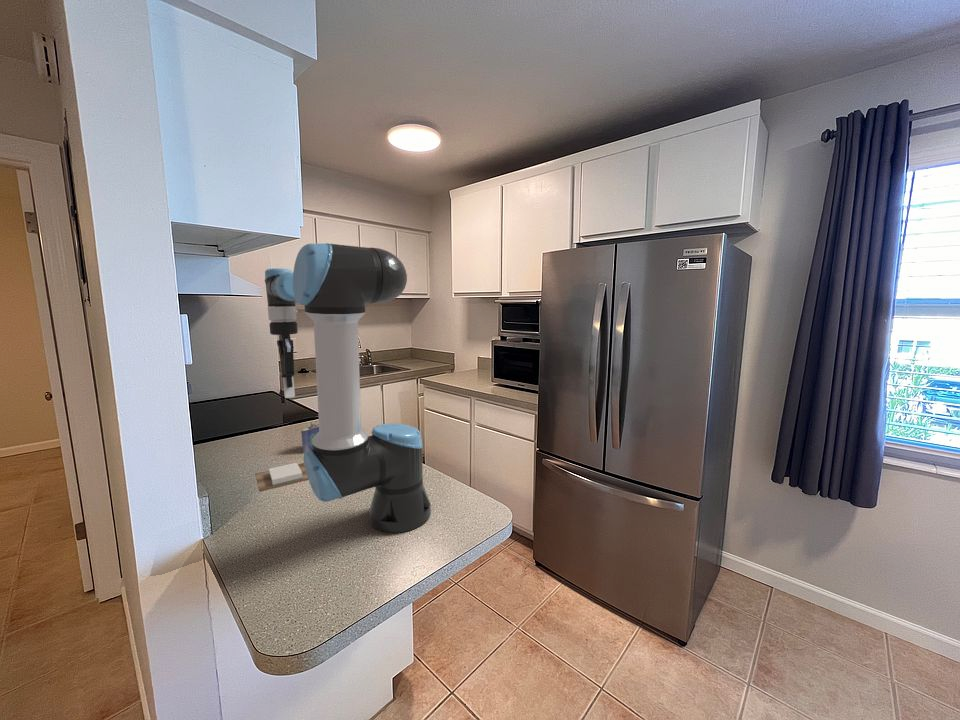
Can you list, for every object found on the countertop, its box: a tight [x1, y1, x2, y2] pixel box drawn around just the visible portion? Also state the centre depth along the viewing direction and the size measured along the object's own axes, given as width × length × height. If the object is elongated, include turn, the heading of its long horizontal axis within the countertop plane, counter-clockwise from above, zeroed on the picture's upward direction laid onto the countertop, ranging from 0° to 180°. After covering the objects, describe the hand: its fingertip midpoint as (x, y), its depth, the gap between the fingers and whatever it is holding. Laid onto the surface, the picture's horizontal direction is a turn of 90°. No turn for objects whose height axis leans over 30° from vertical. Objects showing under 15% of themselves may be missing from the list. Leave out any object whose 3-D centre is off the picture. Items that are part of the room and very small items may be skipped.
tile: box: [268, 462, 303, 485], centre depth 118 cm, size 2×8×9 cm
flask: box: [300, 421, 319, 454], centre depth 139 cm, size 9×3×11 cm, turn 146°
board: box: [255, 462, 309, 493], centre depth 118 cm, size 14×15×1 cm
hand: (289, 397), depth 120 cm, fingers closed
